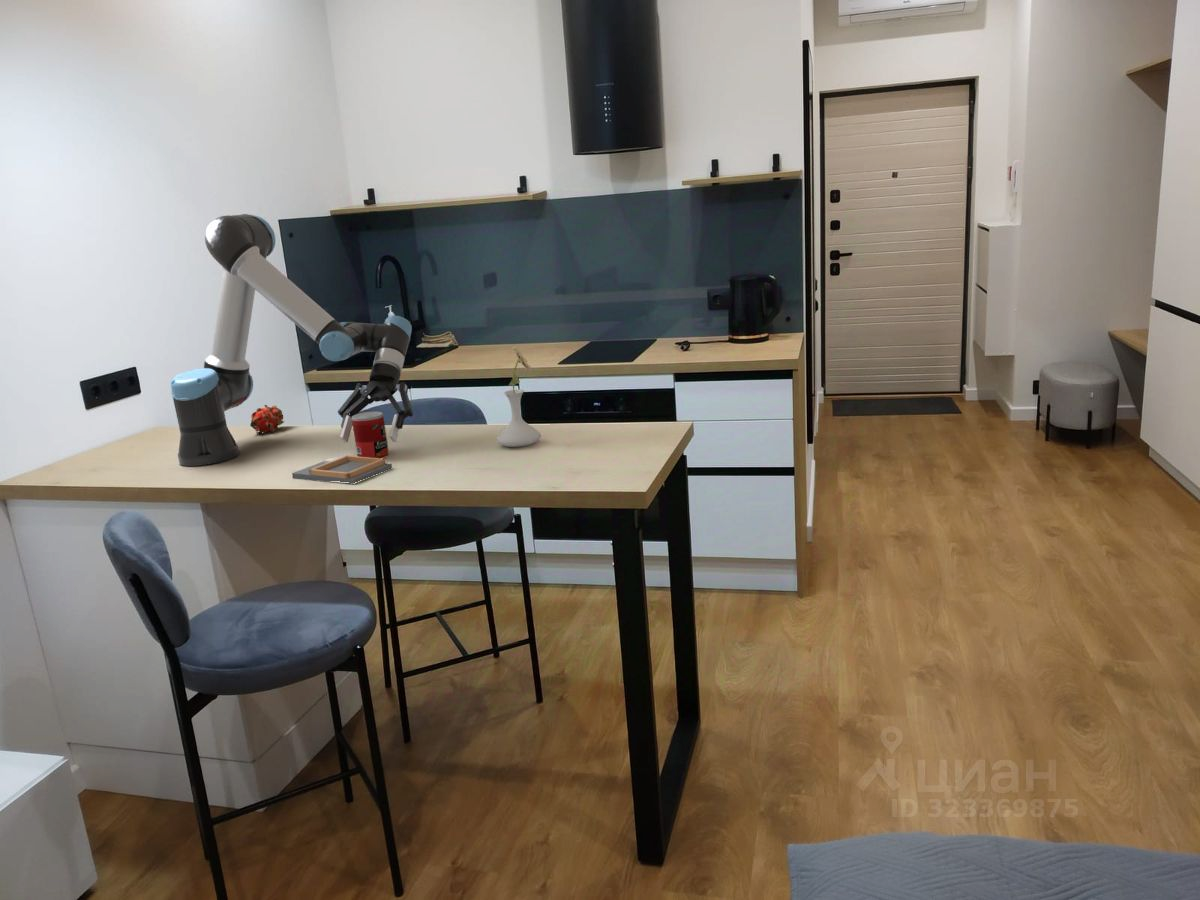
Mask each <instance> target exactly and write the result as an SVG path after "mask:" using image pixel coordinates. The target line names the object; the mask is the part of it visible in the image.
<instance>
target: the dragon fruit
mask: <svg viewBox="0 0 1200 900" xmlns="http://www.w3.org/2000/svg"><path fill="white" fill-rule="evenodd" d="M250 418H251V422H250V425H249V426H250V427H252V428H253V430H255V432H256V435H258V433H260V434H263V433H262V432H265V433H267V432H269V431H270V432H271V433H274V432H275V431H276V430H278V426H281V425H283V423H285V421H284V414H283V411H282V409H280V408H279V407H277V405H272V406H271V407H270V406H268V405H267V404H265V405H264V407H263V408H261V407H258V408H257V409H256V411H253V412H252V413H251V417H250ZM273 431H274V432H273Z"/></svg>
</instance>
